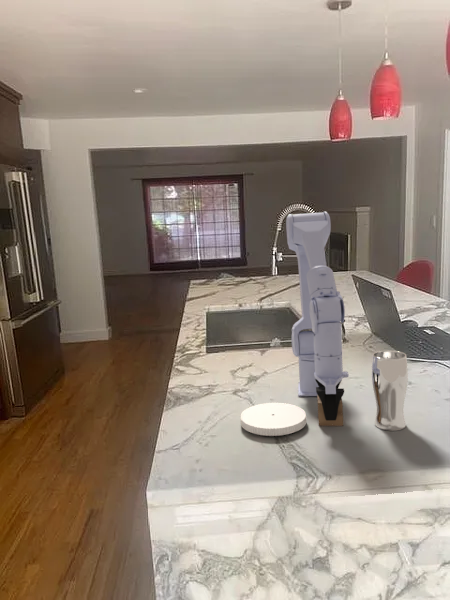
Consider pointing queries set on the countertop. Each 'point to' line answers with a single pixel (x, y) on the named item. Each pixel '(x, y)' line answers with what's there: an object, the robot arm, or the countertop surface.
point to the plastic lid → (273, 419)
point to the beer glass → (389, 388)
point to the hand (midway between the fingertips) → (330, 414)
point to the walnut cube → (330, 422)
